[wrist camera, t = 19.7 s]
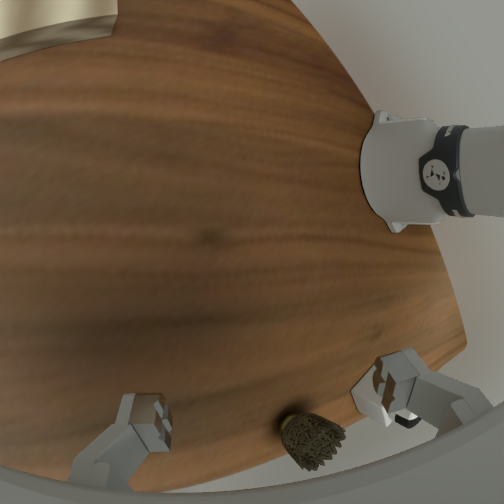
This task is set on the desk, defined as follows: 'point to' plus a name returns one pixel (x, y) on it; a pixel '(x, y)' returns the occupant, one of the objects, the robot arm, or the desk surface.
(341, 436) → the cup
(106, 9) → the square nut
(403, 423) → the medicine bottle
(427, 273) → the desk surface
